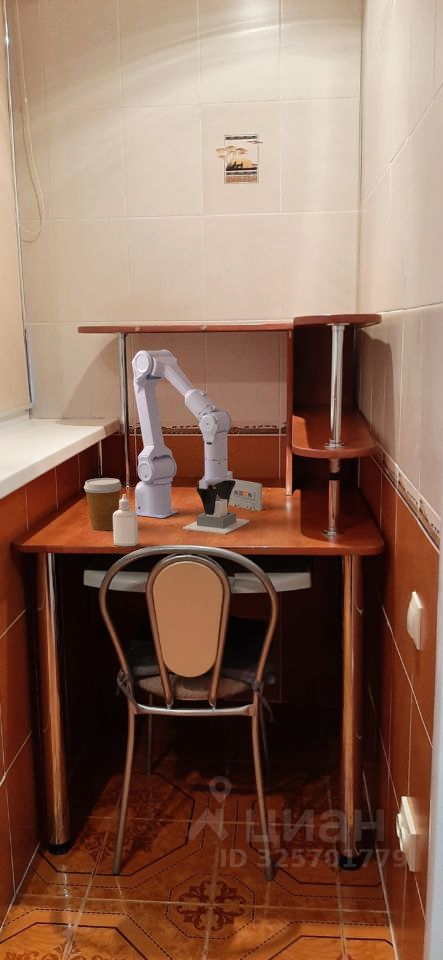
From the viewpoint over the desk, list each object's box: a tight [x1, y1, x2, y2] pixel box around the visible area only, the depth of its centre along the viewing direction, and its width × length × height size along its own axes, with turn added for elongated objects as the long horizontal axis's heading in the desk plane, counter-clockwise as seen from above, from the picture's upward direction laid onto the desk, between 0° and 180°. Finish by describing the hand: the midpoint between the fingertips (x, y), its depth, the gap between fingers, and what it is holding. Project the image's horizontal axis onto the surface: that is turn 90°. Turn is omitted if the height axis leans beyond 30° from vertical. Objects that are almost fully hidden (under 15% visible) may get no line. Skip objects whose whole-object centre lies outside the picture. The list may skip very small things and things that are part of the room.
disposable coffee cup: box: [83, 477, 123, 531], centre depth 196 cm, size 10×10×12 cm
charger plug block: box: [206, 495, 228, 518], centre depth 197 cm, size 4×4×7 cm
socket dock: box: [182, 511, 251, 535], centre depth 197 cm, size 12×14×3 cm
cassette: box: [229, 478, 263, 512], centre depth 216 cm, size 12×2×8 cm, turn 47°
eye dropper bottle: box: [112, 493, 139, 547], centre depth 180 cm, size 4×6×12 cm
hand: (216, 511), depth 197 cm, fingers open, 7 cm apart
